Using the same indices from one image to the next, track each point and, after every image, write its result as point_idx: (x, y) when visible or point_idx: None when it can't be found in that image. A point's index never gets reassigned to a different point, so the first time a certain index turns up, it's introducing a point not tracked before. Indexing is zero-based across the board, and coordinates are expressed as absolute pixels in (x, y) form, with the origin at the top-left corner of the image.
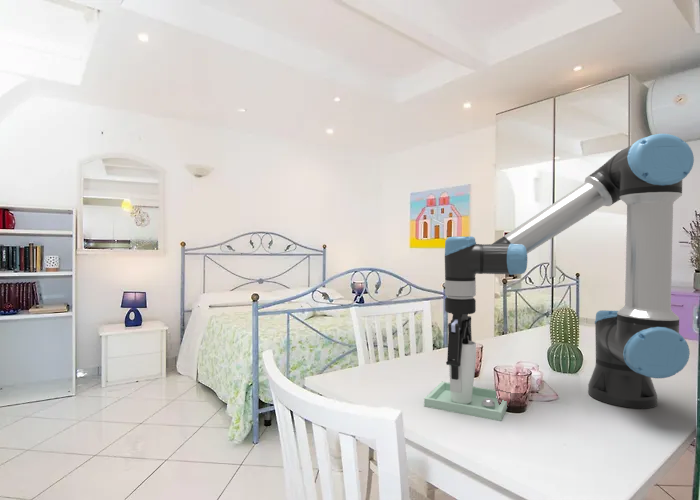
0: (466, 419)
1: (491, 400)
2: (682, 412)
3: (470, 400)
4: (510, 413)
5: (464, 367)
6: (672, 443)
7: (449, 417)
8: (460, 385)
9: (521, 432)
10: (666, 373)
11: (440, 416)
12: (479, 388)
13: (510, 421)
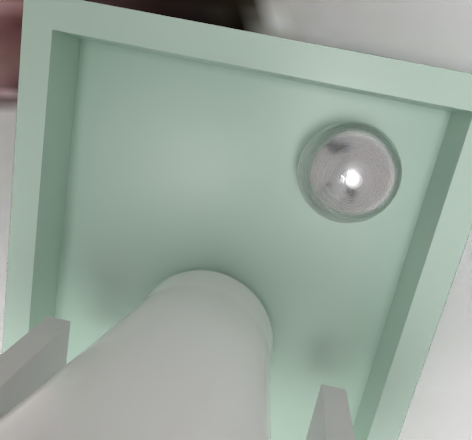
0: (456, 294)
1: (373, 154)
2: None
3: (238, 284)
4: (282, 17)
5: None
6: None
7: (446, 383)
8: (351, 436)
9: None
10: None
11: (442, 428)
12: (37, 229)
13: (429, 22)
